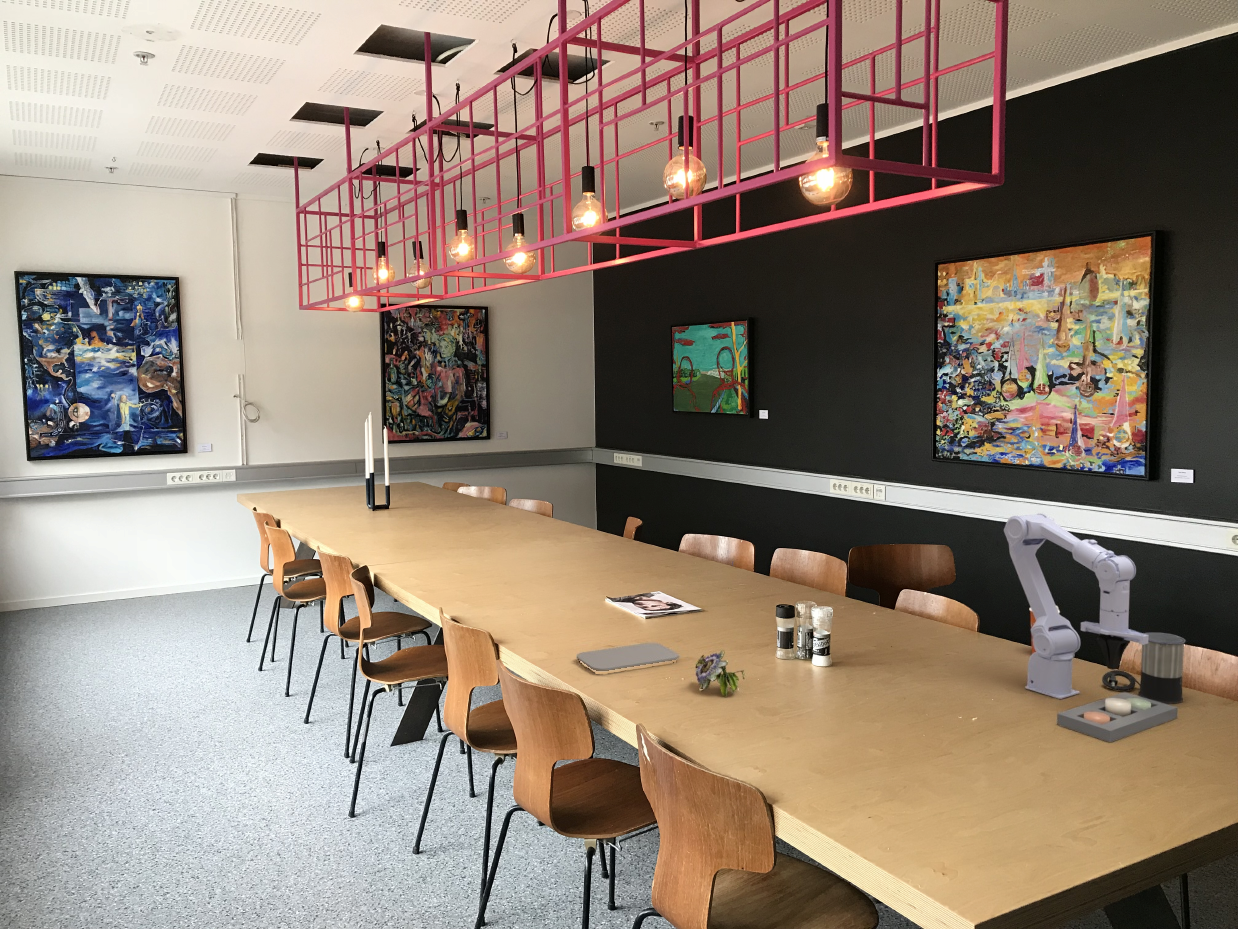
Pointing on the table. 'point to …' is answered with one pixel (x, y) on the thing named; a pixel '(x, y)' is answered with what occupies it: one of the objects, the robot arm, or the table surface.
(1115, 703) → the button cream
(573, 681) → the table surface
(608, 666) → the tablet
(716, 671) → the passion flower
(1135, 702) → the button sage
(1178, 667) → the milk frother
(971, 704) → the table surface
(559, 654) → the table surface
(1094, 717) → the button terracotta
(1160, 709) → the button board
